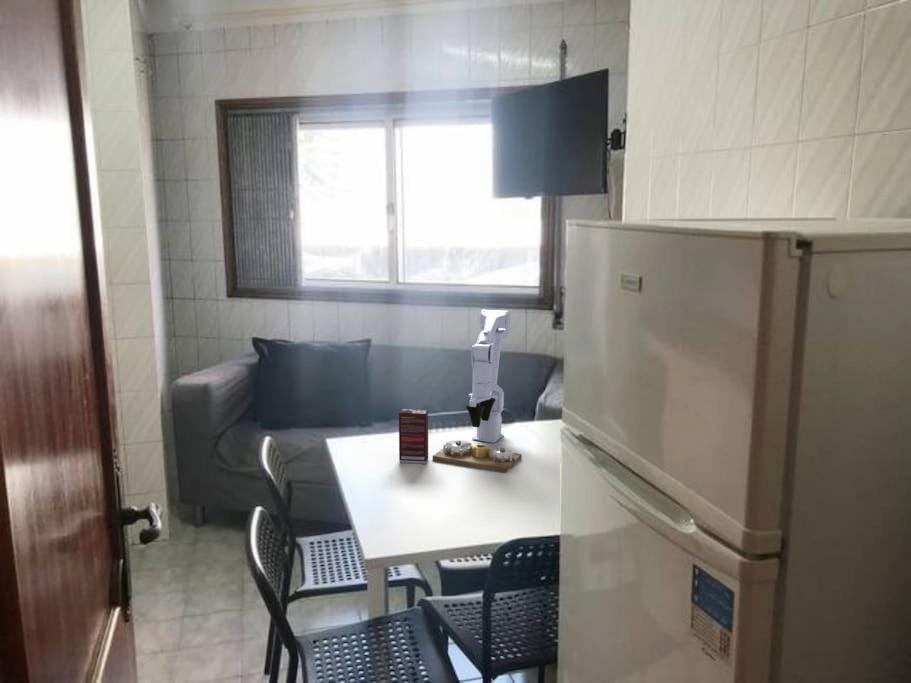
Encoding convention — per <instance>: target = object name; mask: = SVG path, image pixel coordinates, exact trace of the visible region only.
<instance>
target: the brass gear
mask: <svg viewBox="0 0 911 683" xmlns="http://www.w3.org/2000/svg"><path fill="white" fill-rule="evenodd" d="M481 444H482V445H483V448H480V445H481ZM472 445H473V446H472V456H474V457H476V458H486V457H488V456H490V449H491V446H490V445H488V444H486V443H476V444H472Z"/></svg>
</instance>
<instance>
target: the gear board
mask: <svg viewBox="0 0 911 683" xmlns="http://www.w3.org/2000/svg"><path fill="white" fill-rule="evenodd" d="M480 444H481V445H480V448H483V445H482V444H483V443H480ZM473 445H474V444H472V442H469V441H467V440H457V439H456V440H448V441H446V443H443V447H442V449H440V450H439V451H437V452H436V453H435V454H433V455H432V461H433V460H434V461H433V462H440V463H446V464H452V465H459V466H462V467H468V468H469V467H470V468H476V469H480V470H488V471H493V472H498V473H503V474H506V473H508V472H509V469H510V470H511V469H512V468H513V467H514V466H515V465H516V464H517V463H519V462H520V461H521V460H522V453H517V452H515V451H512V449H509V448H505V447H499V448H493V449H492V448H490V456H488V457H486V458H476V457H474V456H472V446H473Z"/></svg>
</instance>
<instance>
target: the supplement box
mask: <svg viewBox="0 0 911 683" xmlns="http://www.w3.org/2000/svg"><path fill="white" fill-rule="evenodd" d="M398 441H399V442H398V448H399V449H398V453H399V454H398V456H399V457H398V458H399V461H398V462H399V463H400V462H402V463H401V464H423V465H424V464H425V465H426V464H427V462H428V460H429V409H417V408H416V409H414V408H409V409H408V408H401V409H400V411H399V412H398Z"/></svg>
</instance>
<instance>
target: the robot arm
mask: <svg viewBox="0 0 911 683" xmlns="http://www.w3.org/2000/svg"><path fill="white" fill-rule="evenodd" d="M479 325H480V332H479V334H478V336H477V339H476V343H475V344H474V345H472V346H471V350H470V359H471V368H472V384H471V385H472V387H471V388H472V389H471V391H472V392H471V393H469V394H468V398H470V400H469V403H467V404H466V405H465V409H466V410H467V412H468V413H469V417H470V422H471V426H472V427H474V428H476V435H475V436H473V437H472V438H471V439H472V440H473V441H474V440H475V441H481V442H484V443H485V442H486V443H496V442H497V441H498V440H500V439H501V438H503V437H504V436H505V435H504V433H502V420H503V418H502V414H501V413H502V412H503V411H504V404H505V401H504V400H505V393H504V390H503V389H502V387H500V386H499V385H498V376H499V368H500V358H501V348H502V344H503V340H504V339H506V338H507V337H508V336H509V333H510V325H511V312H510V311H509V310H495V309H494V310H493V309H492V310H491V309H482V310H481V311H480V313H479Z"/></svg>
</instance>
